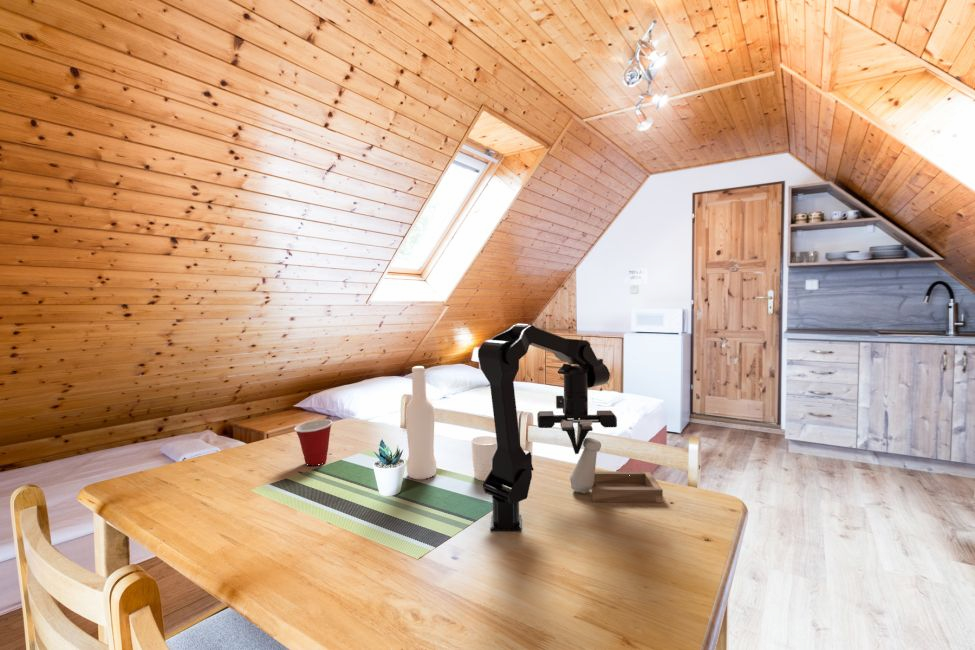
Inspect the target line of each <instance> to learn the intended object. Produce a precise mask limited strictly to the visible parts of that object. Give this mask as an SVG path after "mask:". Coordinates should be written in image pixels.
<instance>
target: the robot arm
mask: <svg viewBox="0 0 975 650" xmlns="http://www.w3.org/2000/svg"><path fill="white" fill-rule="evenodd" d="M530 346H532V347H535V348H538V349H541V350H544V351H547V352H550V353H552V354H553V355H554V357H556V358H557V359H559V360H560V361H562V362H564V363H563V365H562V366H561V367H560V368H559V369H558V370H557V374H559V375H563V395H556V396H555V409H557V410H558V409H559V410H560V409H562V414H554V411H553V410H547V411H545V410H543V411H542V410H539V411H538V412H537V416H536V417H537V418H536V419H537V420H536V421H537V427H538V428H540V429H551V428H553V427H554V426H555V424H560V425H559V426H560V428H561V431H563V432H566V433H567V435H568V438H569V439H570V440H569V441H570V442H571V445H572V448H573V451H574V454H575V455H579V453H580V450H581V448H582V446H583V441H584V439H586V438H587V435H588V433H589V432H593V426H592V425H593V423H594V424H595V423H600V425H601V426H602V427H603V428H617V427H618V418H617V416H616V414H615V412H613V411H612V410H596V414H589V405H588V404H589V402H588V400H589V398H588V397H589V396H588V393H589V391H588V390H589V388H590V389H591V388H594V387H599V386H602V385H605V384H607V383H608V382H609V380H610V378H611V373H610V369H609V368H608V366H607V365H606V364H604V359H603V358H598V357H597V356H596V354H595V352H594V350H593V347H592V346H591V342H589V341H588V340H586V339H577V338H575V339H574V338H565V337H562V336H560V335H557V334H554V333H551V332H549V331H547V330H543V329H541V328H538V327H536V326H534V325H533V324H531V323H530V324H529V323H515V324H514V325H512V326H511V327H510V328H508V329H507V330H505V331H503V332H500V333H499V334H496V335H494V336H493V337H491V338H490V339H487V340H485V341H483V342H482V343H481V345H480V347H479V348H478V350H477V358H478V362H479V365H480V369H481V372H482V373H483V375H484V376H485V379H486V380H487V381H488V383H489V386H490V394H491V395H490V396H491V404H492V412H493V420H494V421H493V423H494V429H495V437H496V439H497V450H496V452H495V454H494V456H493V459H492V470H491V472H490V473H489V475H488V477H487V478H486V480H485V481H483V483H482V489H483V492H484V494H488V495H490V496H491V498H492V499H491V500H492V503H491V504H492V505H491V506H492V514H491V519H490V525H489V527H490V529H489V530H490V531H511V532H512V531H513V532H514V531H522V514H520V502H521V501H525V500H527V498H528V496H529V492H530V491H529V490H530V488H531V487H530V486H531V483H532V479H533V473H532V471H534V470H535V469H534V466H533V456H532V452H530V451H528V450H525V449H523V448H522V446H521V439H520V431H519V421H518V413H517V404H516V403H517V402H516V395H515V394H516V393H515V385H514V381H515V379H516V376H517V375H518V372H519V369H520V360H521V358H523V357H524V356H525V355H526V354H527V353H528V351H529V347H530ZM576 423H577V432H576V430H575V427H574V424H576ZM576 433H577V435H576Z"/></svg>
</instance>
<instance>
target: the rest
mask: <svg viewBox="0 0 975 650" xmlns="http://www.w3.org/2000/svg"><path fill="white" fill-rule="evenodd" d="M629 475H630V476H629ZM663 498H664V496H663V488H662V487H661V486H660V484H659V483H658V481H657V479H656V478H655V477H654V475H653V474H652V473H651V472H650V471H595V476H594V485H593V487H592V488H591V500H592V503H663Z"/></svg>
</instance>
